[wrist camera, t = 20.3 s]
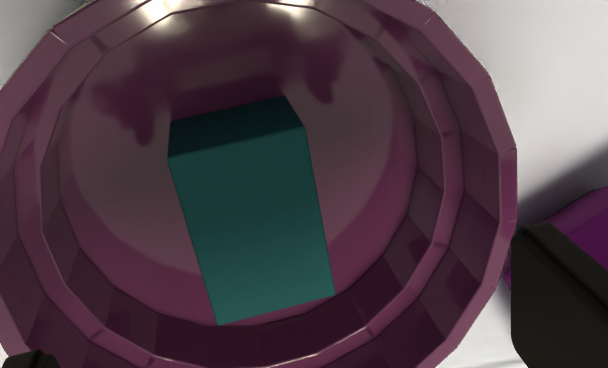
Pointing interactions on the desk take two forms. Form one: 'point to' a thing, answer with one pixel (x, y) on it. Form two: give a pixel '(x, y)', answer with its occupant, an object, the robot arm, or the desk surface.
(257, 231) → the eraser
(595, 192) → the perfume bottle
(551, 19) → the desk surface
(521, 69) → the desk surface
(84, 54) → the bowl
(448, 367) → the desk surface
